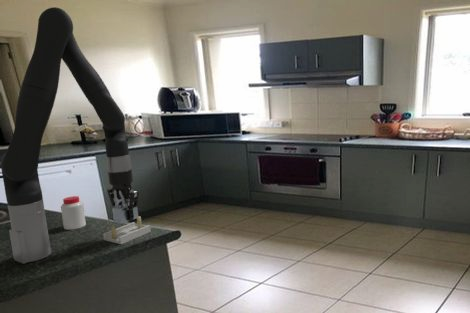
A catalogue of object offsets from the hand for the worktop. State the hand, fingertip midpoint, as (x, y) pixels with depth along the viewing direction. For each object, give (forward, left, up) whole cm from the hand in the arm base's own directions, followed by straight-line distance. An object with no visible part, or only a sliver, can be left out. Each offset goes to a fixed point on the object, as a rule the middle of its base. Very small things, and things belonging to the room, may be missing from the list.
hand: (126, 219), depth 123 cm
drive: (0, 0, 0) cm, 0 cm away
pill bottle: (-2, +29, -6) cm, 30 cm away
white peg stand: (0, 0, -6) cm, 6 cm away
